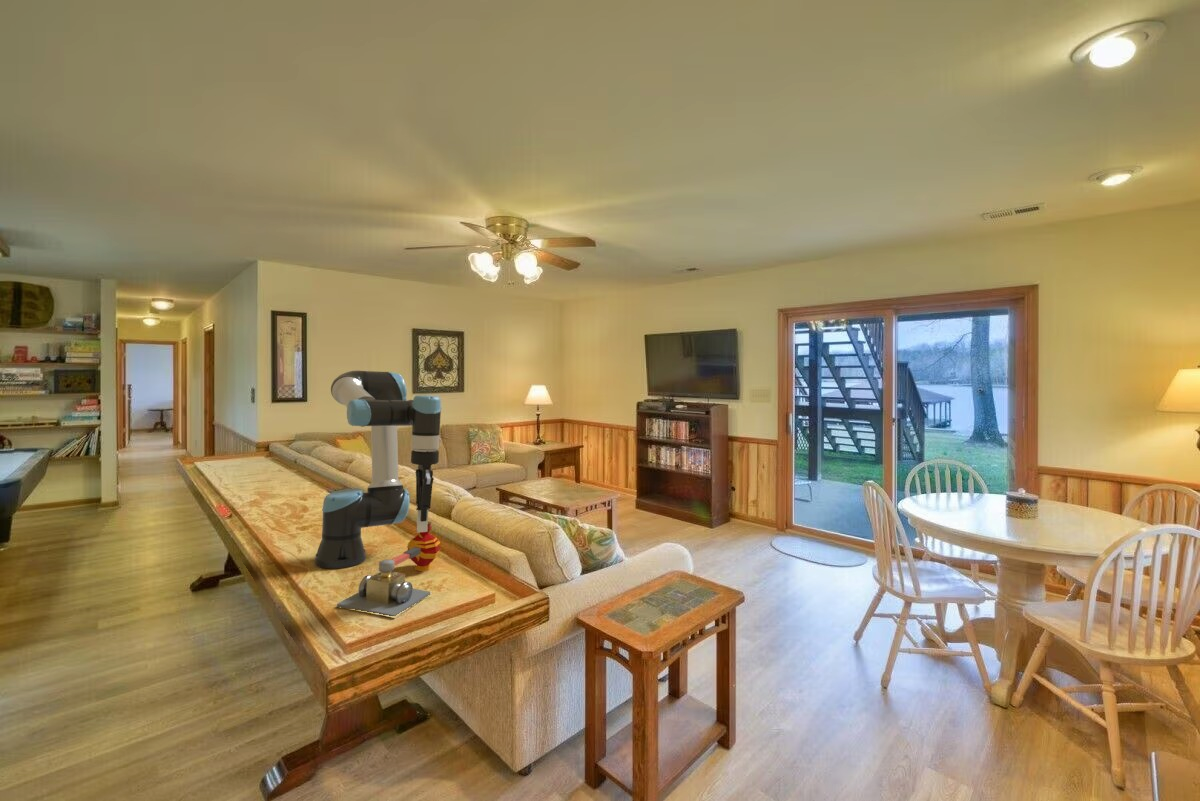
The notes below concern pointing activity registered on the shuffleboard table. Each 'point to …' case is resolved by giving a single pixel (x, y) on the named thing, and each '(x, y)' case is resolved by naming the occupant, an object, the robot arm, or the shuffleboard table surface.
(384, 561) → the lever
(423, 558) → the potion bottle
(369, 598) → the valve body
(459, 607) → the shuffleboard table surface
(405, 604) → the slate board
